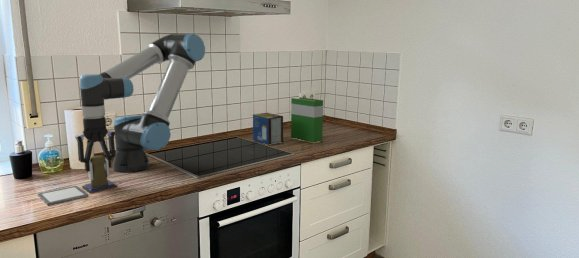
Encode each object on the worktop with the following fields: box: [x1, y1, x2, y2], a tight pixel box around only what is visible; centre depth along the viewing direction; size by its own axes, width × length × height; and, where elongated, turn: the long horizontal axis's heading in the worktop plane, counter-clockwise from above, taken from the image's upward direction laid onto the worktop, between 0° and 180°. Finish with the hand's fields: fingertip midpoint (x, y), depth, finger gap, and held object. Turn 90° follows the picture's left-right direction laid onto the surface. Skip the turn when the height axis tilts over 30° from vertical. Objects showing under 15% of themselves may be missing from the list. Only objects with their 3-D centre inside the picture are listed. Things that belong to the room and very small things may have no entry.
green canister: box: [290, 96, 324, 142], centre depth 239 cm, size 18×7×24 cm, turn 45°
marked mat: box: [37, 185, 89, 206], centre depth 149 cm, size 13×13×1 cm
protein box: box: [252, 112, 284, 146], centre depth 235 cm, size 10×15×16 cm
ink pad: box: [81, 179, 118, 194], centre depth 158 cm, size 10×8×1 cm
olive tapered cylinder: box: [90, 154, 109, 187], centre depth 157 cm, size 6×6×11 cm
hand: (99, 177), depth 158 cm, fingers closed on olive tapered cylinder, 5 cm apart
